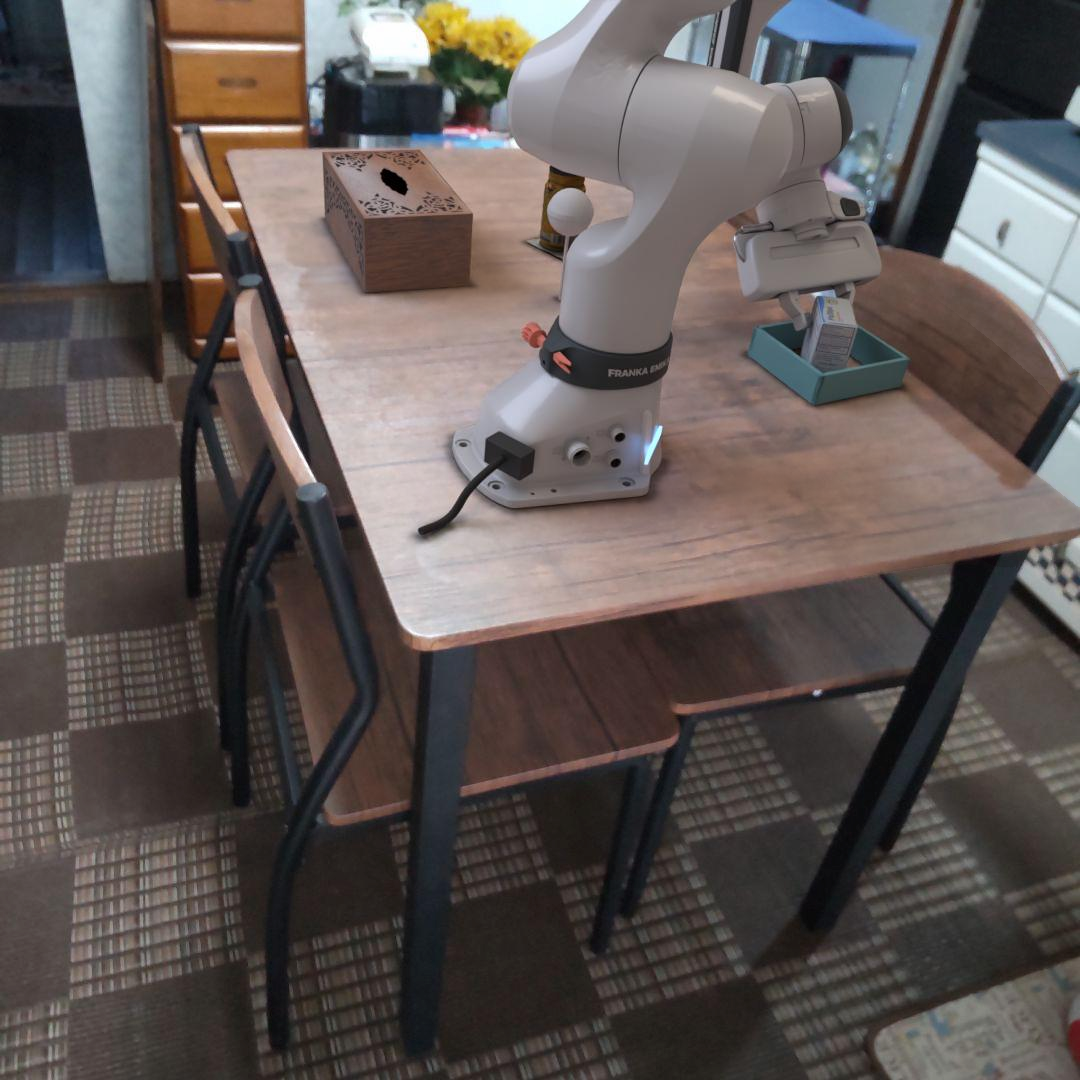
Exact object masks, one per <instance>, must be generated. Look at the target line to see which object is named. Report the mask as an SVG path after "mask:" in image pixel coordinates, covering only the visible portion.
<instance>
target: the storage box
mask: <svg viewBox="0 0 1080 1080" xmlns="http://www.w3.org/2000/svg"><path fill="white" fill-rule="evenodd" d="M857 326H858V329H857V332H856V336H855V339H854V342H853V346H852V349H851V352H850V356H849V357H851V358H853V359H854V360H856V361H857V362H859V363H861V364H862V365H858V366H852V367H848V368H847V367H846V369H842V370H837V371H832V372H827V373H822V372H820V371H819V370H818V369H816V368H815V367H813V366H812V365H811V364H809V363H808V362H807V361H805V360H804V359H802V358H801V357H800V355H798V354H797V353H796V352H794V351H793V350H796V349H802V345H803V341H804V338H805V334H806V331H807V329H806V330H801V331H796V330H795V328H794V324H793V321H792V320H787V321H781V322H780V321H779V322H775V323H769V324H763V325H762V324H761V325H757V326H756V325H755V326H754V327H753V331H752V335H751V338H750V342H749V347H748V351H747V356H748V357H749V358H751V359H752V360H754V361H755V362H756V363H757V364H759V365H760V366H761V367H763V368H764V369H765V370H767V372H769V373H770V374H771V375H773V376H774V377H775V378H777V379H778V380H780V382H782V383H783V384H785V385H786V386H787V387H789V388H790V389H791V390H792V391H794V392H795V393H796V394H798V395H799V396H800V397H802V398H803V399H804V400H806V401H807V402H808V403H809V404H811V405H812V406H817V405H822V404H826V403H831V402H837V401H841V400H845V399H850V398H855V397H860V396H864V395H870V394H873V393H879V392H884V391H888V390H892V389H897V388H901V387H902V383H903V380H904V377H905V376H906V372H907V369H908V367H909V365H910V362H911V358H910V357H909V356H907V355H905V354H904V353H902V352H901V351H899V350H898V349H896V348H895V347H893V346H891V344H888V343H887V342H885V341H884V340H882V339H881V338H879V337H878V336H876V335H875V334H873V333H872V332H871V331H869V330H867V329H866V328H864V327H862V326H861V325H859V324H858V323H857Z"/></svg>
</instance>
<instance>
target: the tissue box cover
mask: <svg viewBox="0 0 1080 1080" xmlns="http://www.w3.org/2000/svg"><path fill="white" fill-rule="evenodd" d="M321 153H322V154H321V155H322V178H323V202H324V203H323V205H324V220H325V222H326V224H327V226H328V228H329V230H330V231H331V233H332V235H333V237H334V239H335V241H336V242H337V244H338V246H339V248H340V250H341V251H342V253H343V255H344V257H345V259H346V261H347V262H348V264H349V266H350V268H351V270H352V272H353V273H354V275H355V277H356V279H357V281H358V282H359V284H360V286H361V288H362V290H363V292H364V293H365V294H370V293H372V294H373V293H382V292H383V293H384V292H386V293H387V292H398V291H415V290H426V289H441V288H454V287H468V286H470V281H471V260H472V243H473V226H474V213H473V212H472V210H471V209H470V207H468V205H466V203H465V202H464V201H463V199H461V197H460V196H459V195H458V194H457V193H456V191H455V190H454V189H453V187H452V186H451V185H450V184H449V183H448V182H447V181H446V179H445V178H444V177H443V175H441V173H440V172H439V171H438V170H437V169H436V167H435V166H434V165H433V164H432V163H431V161H430V160H429V159H428V158H427V157H426V156H425V154H424V153H423V152H422V151H421V150H420V149H387V150H386V149H384V150H383V149H382V150H380V149H379V150H341V151H340V150H338V151H322V152H321Z"/></svg>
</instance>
